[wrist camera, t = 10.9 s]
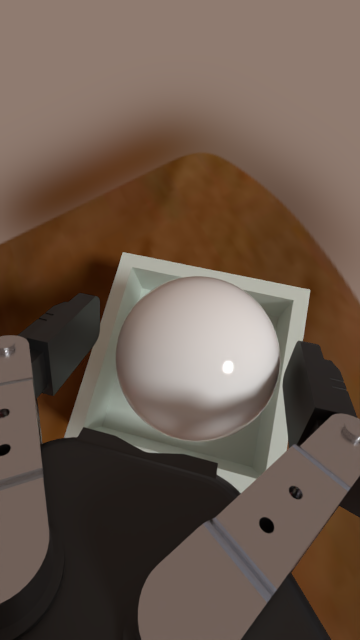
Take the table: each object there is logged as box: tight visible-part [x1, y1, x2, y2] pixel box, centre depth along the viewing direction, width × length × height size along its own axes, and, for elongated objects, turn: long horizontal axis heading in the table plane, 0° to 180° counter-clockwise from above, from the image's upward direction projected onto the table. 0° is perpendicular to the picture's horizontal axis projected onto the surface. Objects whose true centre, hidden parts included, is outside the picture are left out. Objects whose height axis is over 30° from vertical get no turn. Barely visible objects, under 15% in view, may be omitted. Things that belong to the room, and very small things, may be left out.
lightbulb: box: [116, 276, 280, 442], centre depth 15 cm, size 6×6×11 cm
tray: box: [64, 252, 310, 493], centre depth 19 cm, size 11×11×4 cm
